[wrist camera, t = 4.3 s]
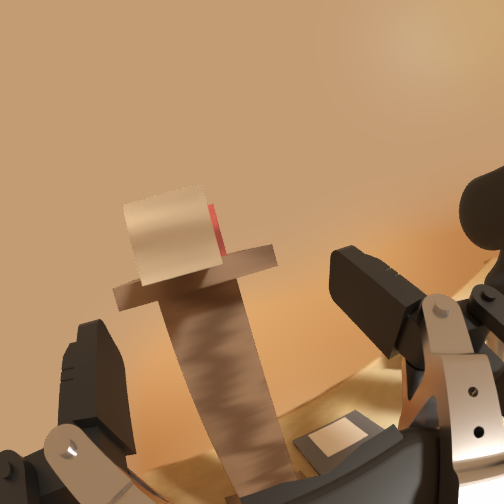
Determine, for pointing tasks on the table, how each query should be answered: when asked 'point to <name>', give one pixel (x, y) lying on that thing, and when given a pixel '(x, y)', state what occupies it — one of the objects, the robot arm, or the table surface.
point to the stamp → (174, 234)
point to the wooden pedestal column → (223, 366)
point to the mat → (336, 441)
